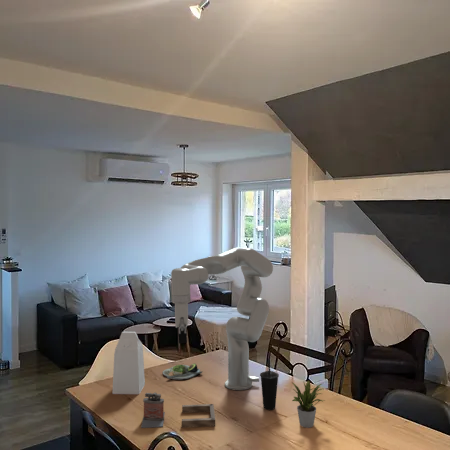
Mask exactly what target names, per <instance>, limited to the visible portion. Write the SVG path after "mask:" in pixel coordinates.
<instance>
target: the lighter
mask: <svg viewBox="0 0 450 450" xmlns="http://www.w3.org/2000/svg"><path fill="white" fill-rule="evenodd" d="M161 396H162V395H161V393H157V392H156V391H155V392H153V393H152V392H145V393H144V397H145V398H143V400H142V402H143V417H142V420H143V419H144V420H148V421H163V420H165V414H164V412H165V410H164V402H165V399H164V398H162V397H161Z"/></svg>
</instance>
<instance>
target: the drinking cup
mask: <svg viewBox="0 0 450 450" xmlns="http://www.w3.org/2000/svg"><path fill="white" fill-rule="evenodd" d="M259 376H260V383H261V385H260V386H261V393H262V394H261V396H262V405H263V406H262V407H263V409H264V410H267V411H273V410H275V409H276V404H277V394H278V393H277V392H278V380H279V377H280V374H279V373H278V372H276V371H272V370H271V358H268V370H265V371H263V372H262V371H261V372H260V374H259Z"/></svg>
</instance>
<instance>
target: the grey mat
mask: <svg viewBox="0 0 450 450" xmlns="http://www.w3.org/2000/svg"><path fill="white" fill-rule="evenodd" d="M164 415H165V411H164ZM164 420H165V419H164ZM164 420H163V421H148V420H144V419H143V418H142V421H141V426H140V428H141V429H146V428H147V429H148V428H164Z"/></svg>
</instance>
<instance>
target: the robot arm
mask: <svg viewBox="0 0 450 450" xmlns="http://www.w3.org/2000/svg"><path fill="white" fill-rule="evenodd" d="M238 267H240V269H241V272H242V275H243V277H244V286H243V289H242V292H241V294H240V297H239V299H238V302H237V306H236V311H237V313H238V314H240V315H242V316H244V317H240V316H232V317H230V318H229V319H227V322H226V325H225V332H226V339H227V345H228V346H227V348H228V350H227V354H228V355H227V362H228V365H227V371H228V373H227V376H228V377H227V380H226V381H225V382H224V386H225V387H226V388H227V389H229V390H233V391H246V390H249V389H250V388H252V387H253V382H255V383H258V382H260V377H259V376H258V377H257V376H256V375H255V376H252V375H250V372H249V371H250V363H249V362H250V361H249V360H250V357H249V354H250V353H249V351H250V350H249V349H250V348H249V343H255V342H257V341H258V340H259V339H260V338H261V335H262V333H263V329H265V328H264V327H265V326H266V325H265V324H266V323H267V319H268V316H269V313H270V304H269V302H268V301H267V300H266V299H265V298H262V297H261V294H262V288H263V286H262V285H263V284H262V281H261V278H268V277H270V276H271V275H272V274H273V271H274V265H273V263H272V262H271V260H270V259H269V258H267V257H265V256H264V255H263V254H261V253H260V252H258V251H257V250H256V249H254V248H249V247H242V246H241V247H232V248H231V249H227V250H226V251H224V252H221V253H219V254H216V255H212V256H207V257H203V258H199V259H198V258H197V259H195V260H193V261H190V262H187V263H185V264H182V266H181V267H178V268H177V267H176V268H173V269H172V270H171V272H170V274H171V275H170V277H171V301H172V304H174V317H175V318H174V320H175V328H176V329H178V343H179V344H186V343H187V344H188V337H187V335H188V334H187V333H188V331H187V329H188V324H189V323H188V322H189V304H190V303H191V302H192V301H191V285H203V284H204V283H206V281H208V279H209V275H219V274H220V275H221V274H225V273H227V272H228V271H229V272H230V271H231V270H234V269H236V268H238ZM246 317H249V318H246ZM248 342H249V343H248Z"/></svg>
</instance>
